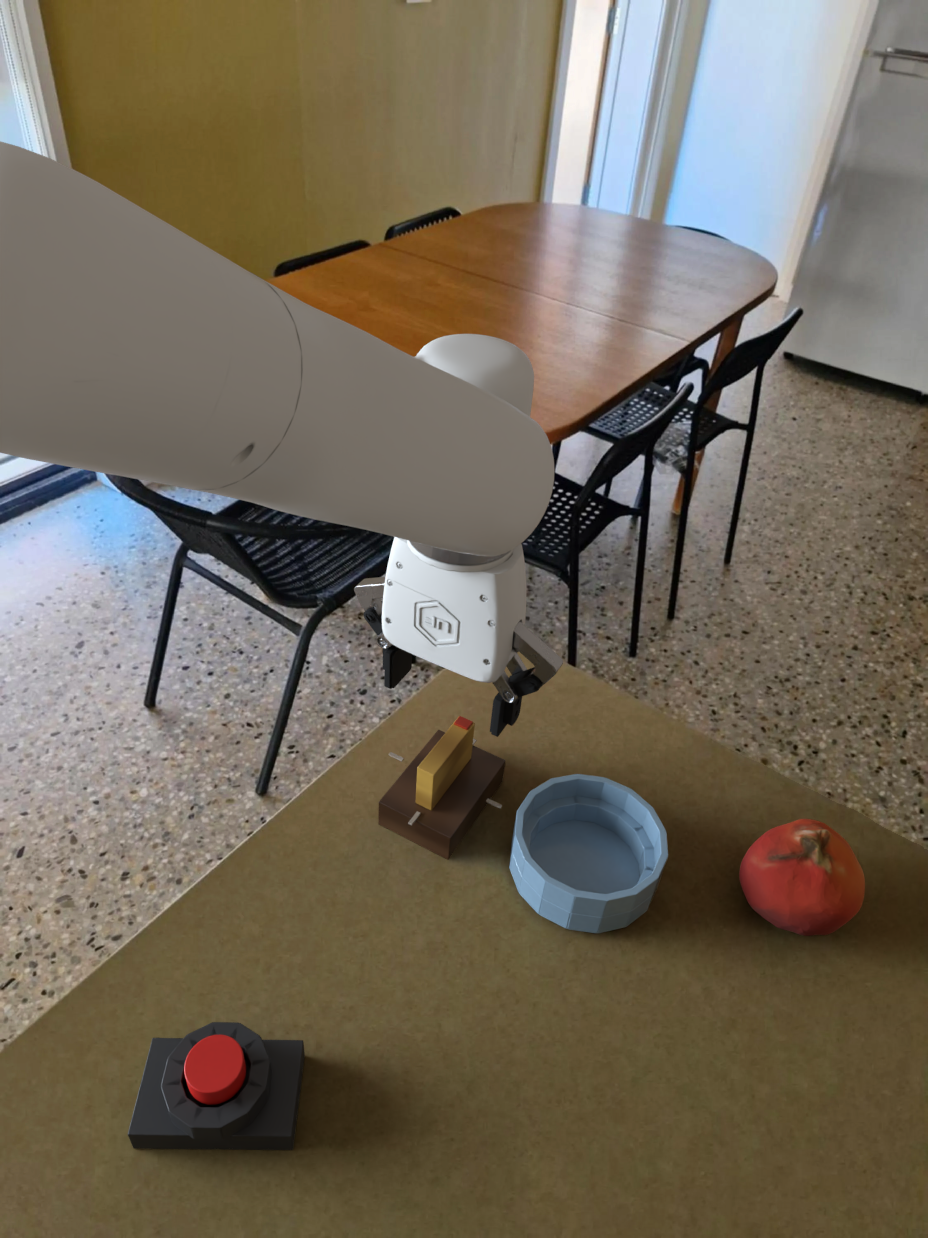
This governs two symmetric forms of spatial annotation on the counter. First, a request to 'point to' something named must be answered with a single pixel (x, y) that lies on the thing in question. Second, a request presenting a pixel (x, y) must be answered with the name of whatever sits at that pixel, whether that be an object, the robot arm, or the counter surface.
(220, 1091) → the button
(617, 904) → the basin
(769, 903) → the tomato
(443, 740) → the yellow block red tip
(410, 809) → the base
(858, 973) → the counter surface
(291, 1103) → the button box
